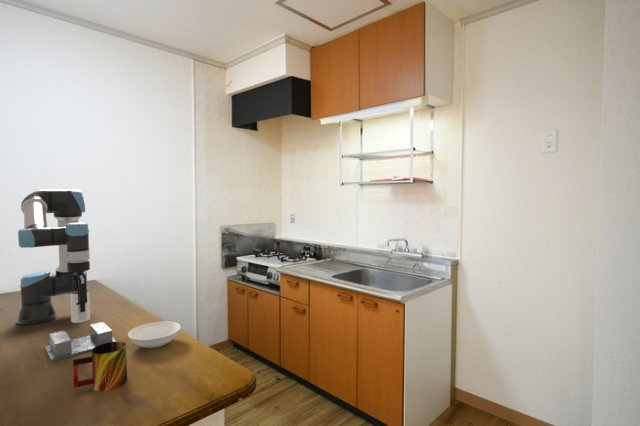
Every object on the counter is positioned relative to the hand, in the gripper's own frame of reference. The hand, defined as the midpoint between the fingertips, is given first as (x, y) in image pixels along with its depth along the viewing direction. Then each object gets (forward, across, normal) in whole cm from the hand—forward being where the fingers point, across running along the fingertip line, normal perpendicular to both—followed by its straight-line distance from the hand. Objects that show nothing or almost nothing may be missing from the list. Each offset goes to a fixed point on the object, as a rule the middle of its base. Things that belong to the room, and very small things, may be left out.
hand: (80, 317), depth 144 cm
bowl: (+12, +20, +22) cm, 32 cm away
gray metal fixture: (+12, 0, 0) cm, 12 cm away
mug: (+12, +41, -2) cm, 43 cm away
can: (+2, 0, 0) cm, 2 cm away
